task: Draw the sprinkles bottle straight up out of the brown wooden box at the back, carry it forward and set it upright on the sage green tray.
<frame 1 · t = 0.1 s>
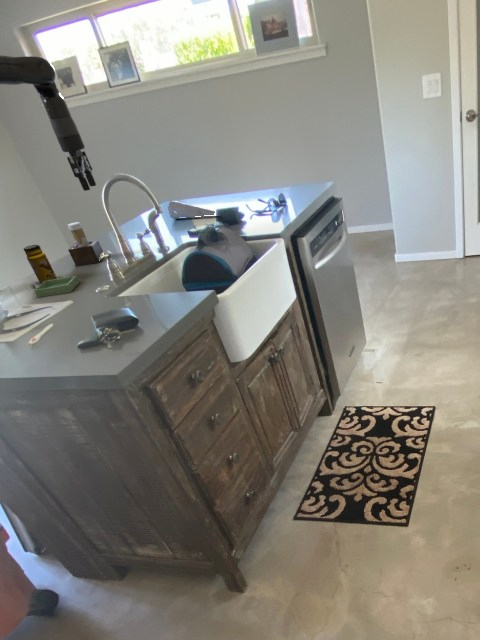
hand: (90, 188, 189), 24 cm above the worktop, tool pointing down, fingers open, 8 cm apart
grey tapered wedge: (200, 217, 244), on the worktop
sprinkles bottle: (91, 261, 204), resting in brown wooden box
condiment: (47, 283, 187), on the worktop
brown wooden box: (90, 261, 204), on the worktop
tray: (58, 289, 179), on the worktop
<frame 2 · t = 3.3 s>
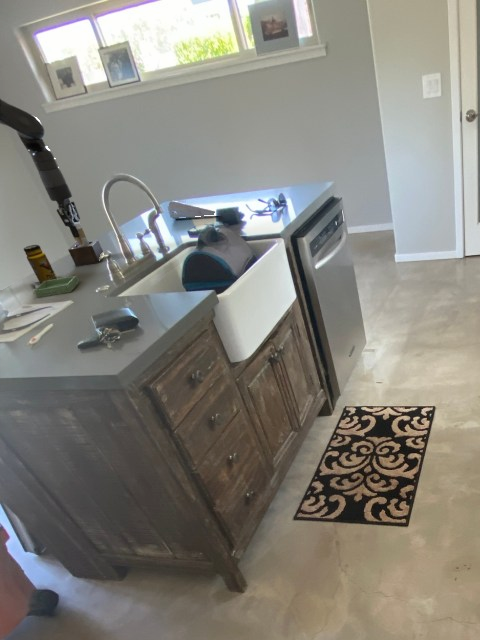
hand: (78, 235, 198), 9 cm above the worktop, tool pointing down, fingers closed on sprinkles bottle, 4 cm apart
sprinkles bottle: (91, 261, 204), resting in brown wooden box, touching gripper
everything else where it was.
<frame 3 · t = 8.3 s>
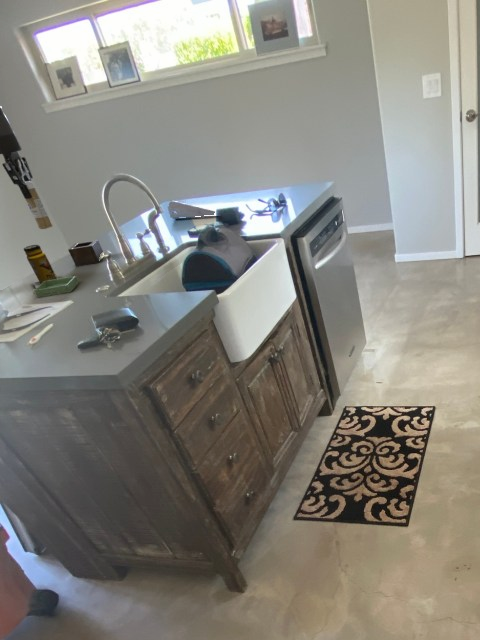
hand: (31, 196, 171), 26 cm above the worktop, tool pointing down, fingers closed on sprinkles bottle, 4 cm apart
sprinkles bottle: (46, 228, 178), point 16 cm above the worktop, touching gripper
everything else where it was.
when the fingers open (10 cm above the worktop, at t = 13.4 s): sprinkles bottle stays where it is, resting on tray.
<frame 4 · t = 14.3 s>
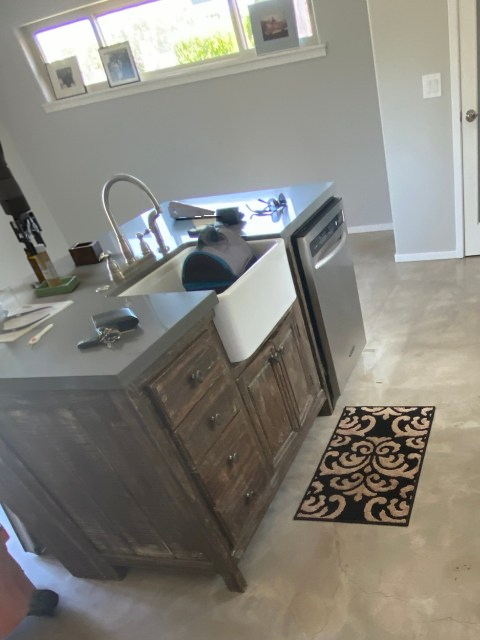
hand: (39, 251, 171), 12 cm above the worktop, tool pointing down, fingers open, 8 cm apart
sprinkles bottle: (57, 288, 178), point 1 cm above the worktop, touching tray
everything else where it was.
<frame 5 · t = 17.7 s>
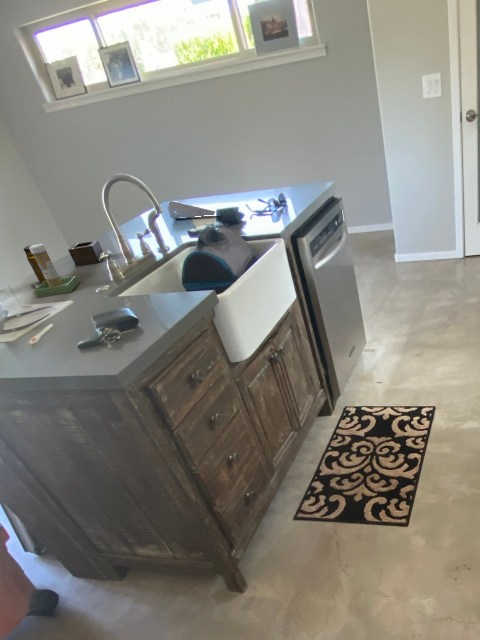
nothing on the worktop moved.
at the end: sprinkles bottle inside the target area in the tray (0.0 cm from its centre), point 0.6 cm above the tray's base; sprinkles bottle tilted 0°; the gripper is holding nothing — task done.
